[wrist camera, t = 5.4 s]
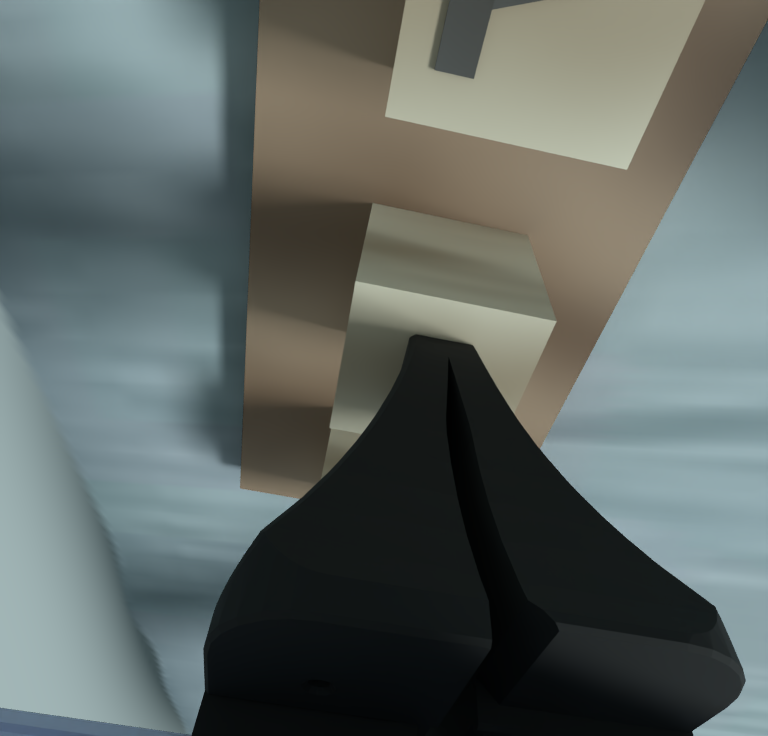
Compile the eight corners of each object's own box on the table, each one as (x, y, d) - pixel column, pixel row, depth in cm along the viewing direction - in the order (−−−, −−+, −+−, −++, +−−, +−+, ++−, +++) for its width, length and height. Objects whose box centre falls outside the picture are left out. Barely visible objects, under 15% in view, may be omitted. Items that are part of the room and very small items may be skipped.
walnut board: (493, 511, 22) (495, 532, 21) (247, 468, 22) (240, 488, 21) (831, -159, 10) (866, -167, 9) (286, -304, 9) (272, -327, 9)
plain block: (481, 358, 16) (493, 457, 13) (348, 332, 16) (329, 427, 13) (527, 235, 14) (556, 321, 11) (372, 203, 14) (355, 281, 10)
